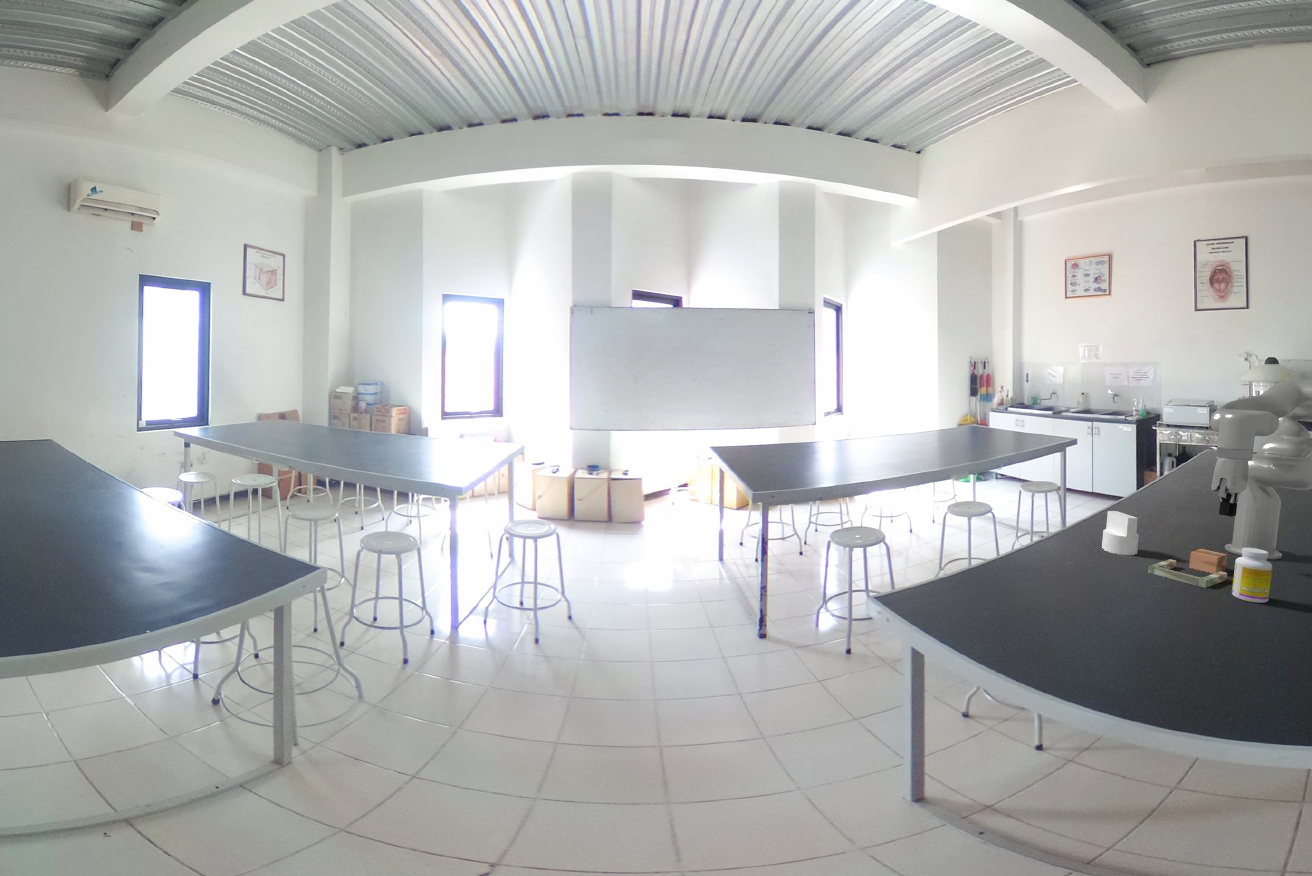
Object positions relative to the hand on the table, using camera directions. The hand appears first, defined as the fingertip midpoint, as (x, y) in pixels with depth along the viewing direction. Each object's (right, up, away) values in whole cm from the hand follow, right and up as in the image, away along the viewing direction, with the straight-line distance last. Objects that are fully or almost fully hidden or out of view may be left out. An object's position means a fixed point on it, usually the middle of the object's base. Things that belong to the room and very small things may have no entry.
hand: (1227, 515), depth 171 cm
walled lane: (-19, -17, -7) cm, 26 cm away
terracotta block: (-8, -16, -2) cm, 18 cm away
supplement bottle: (-17, -19, -23) cm, 34 cm away
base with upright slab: (-20, -14, +16) cm, 29 cm away
